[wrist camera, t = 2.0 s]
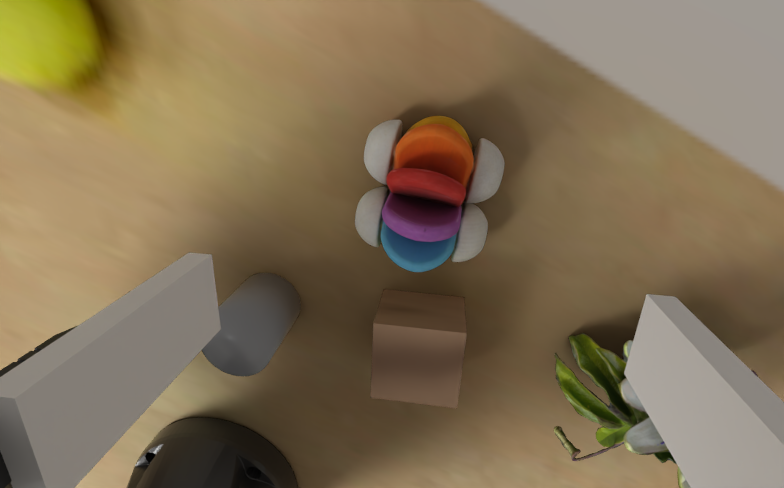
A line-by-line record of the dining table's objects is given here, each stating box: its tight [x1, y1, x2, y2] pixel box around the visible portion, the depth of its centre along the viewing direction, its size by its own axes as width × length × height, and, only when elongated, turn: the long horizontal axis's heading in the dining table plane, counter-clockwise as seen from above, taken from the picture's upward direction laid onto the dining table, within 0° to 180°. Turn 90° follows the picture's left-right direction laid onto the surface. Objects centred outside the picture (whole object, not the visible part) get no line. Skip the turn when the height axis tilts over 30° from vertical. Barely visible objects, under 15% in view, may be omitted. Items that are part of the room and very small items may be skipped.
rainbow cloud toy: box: [355, 116, 505, 272], centre depth 26 cm, size 8×10×7 cm
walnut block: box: [371, 289, 467, 408], centre depth 31 cm, size 6×6×5 cm
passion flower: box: [554, 333, 758, 488], centre depth 29 cm, size 11×11×12 cm
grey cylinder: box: [202, 273, 301, 376], centre depth 31 cm, size 5×5×6 cm
